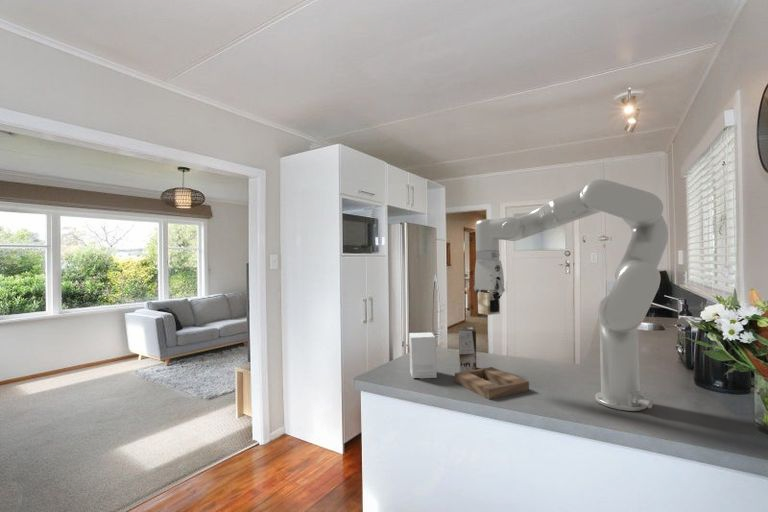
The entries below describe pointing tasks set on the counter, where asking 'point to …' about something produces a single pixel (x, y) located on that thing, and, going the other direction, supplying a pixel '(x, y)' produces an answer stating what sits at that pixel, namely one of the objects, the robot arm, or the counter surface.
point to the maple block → (485, 303)
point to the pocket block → (487, 389)
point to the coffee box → (467, 348)
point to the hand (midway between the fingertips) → (488, 310)
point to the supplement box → (422, 355)
